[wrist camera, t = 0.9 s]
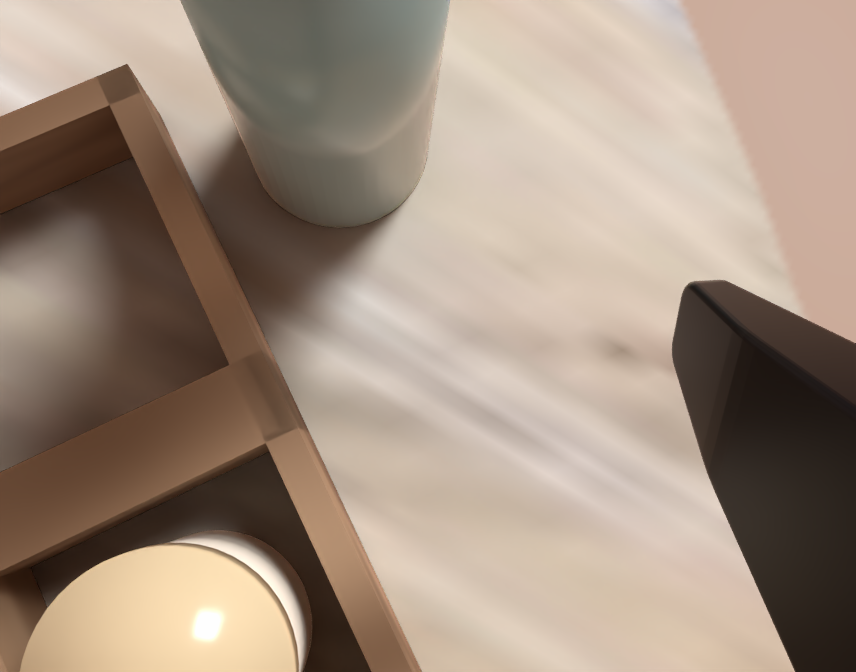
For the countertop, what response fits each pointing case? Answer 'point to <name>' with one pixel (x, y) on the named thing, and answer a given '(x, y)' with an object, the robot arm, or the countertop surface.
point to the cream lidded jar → (179, 612)
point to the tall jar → (328, 96)
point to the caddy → (176, 411)
